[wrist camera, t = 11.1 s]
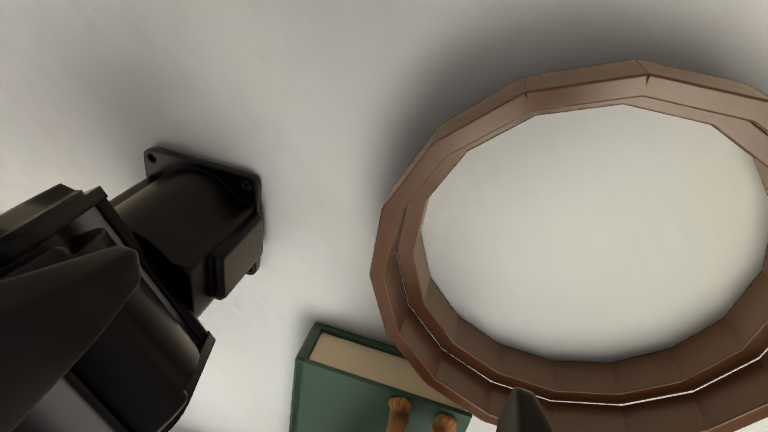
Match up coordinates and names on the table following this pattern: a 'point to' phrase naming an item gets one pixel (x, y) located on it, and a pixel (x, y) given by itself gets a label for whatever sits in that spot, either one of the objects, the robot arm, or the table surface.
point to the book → (360, 387)
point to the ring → (578, 379)
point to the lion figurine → (400, 417)
